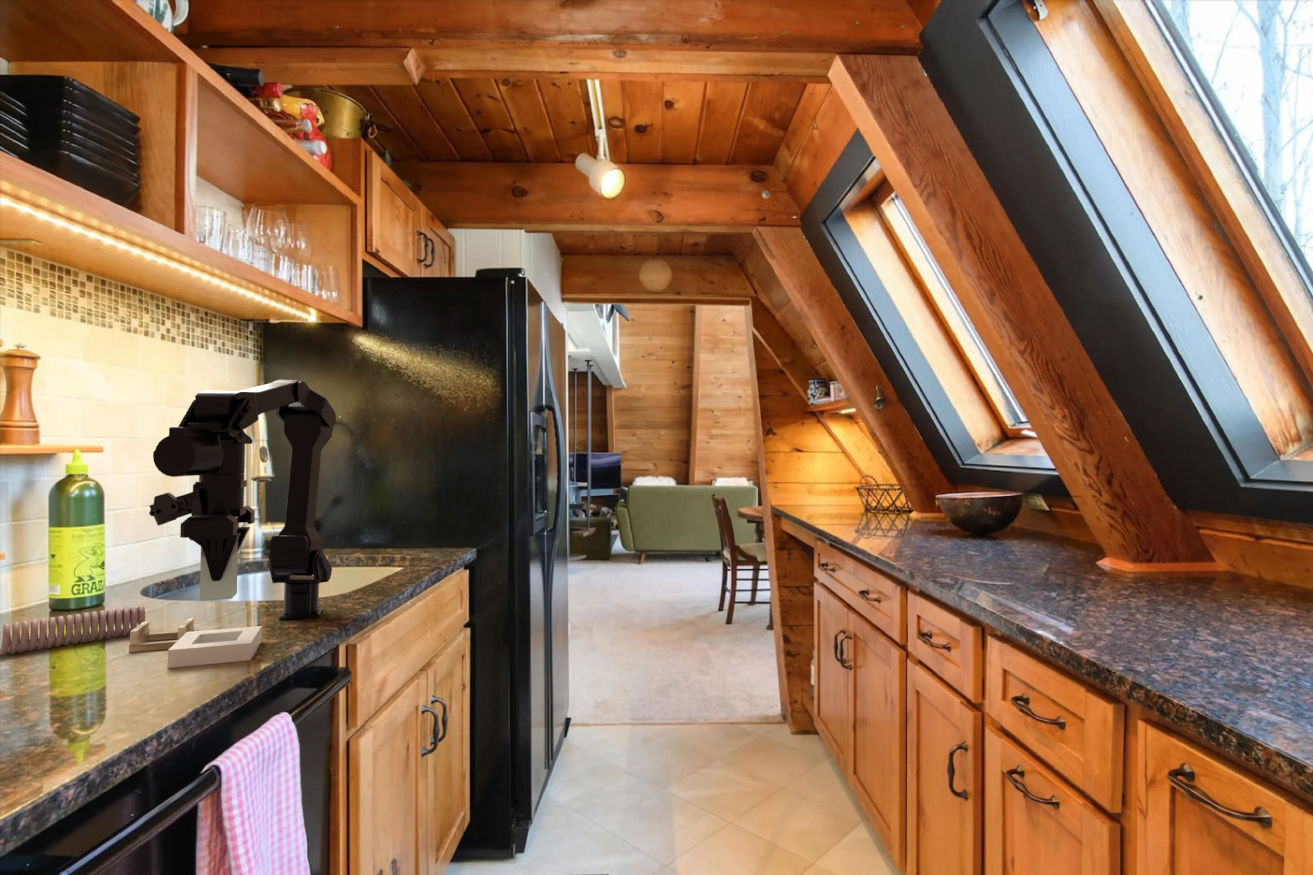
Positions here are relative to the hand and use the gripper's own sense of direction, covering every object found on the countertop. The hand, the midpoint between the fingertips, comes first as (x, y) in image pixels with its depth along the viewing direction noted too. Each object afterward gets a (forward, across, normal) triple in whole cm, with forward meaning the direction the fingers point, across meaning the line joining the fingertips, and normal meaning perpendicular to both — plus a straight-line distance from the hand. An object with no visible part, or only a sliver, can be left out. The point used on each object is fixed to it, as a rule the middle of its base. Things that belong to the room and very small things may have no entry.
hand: (219, 577), depth 100 cm
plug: (+3, 0, 0) cm, 3 cm away
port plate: (+11, 0, 0) cm, 11 cm away
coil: (+12, -15, -22) cm, 29 cm away
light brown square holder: (+11, -9, -9) cm, 17 cm away
